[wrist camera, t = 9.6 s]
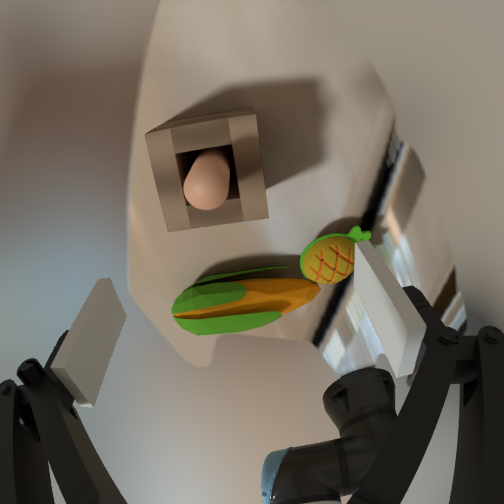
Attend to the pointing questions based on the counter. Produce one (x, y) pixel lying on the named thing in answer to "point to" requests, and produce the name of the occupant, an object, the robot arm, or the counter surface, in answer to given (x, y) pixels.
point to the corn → (240, 302)
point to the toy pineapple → (332, 256)
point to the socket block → (180, 163)
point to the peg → (209, 178)
